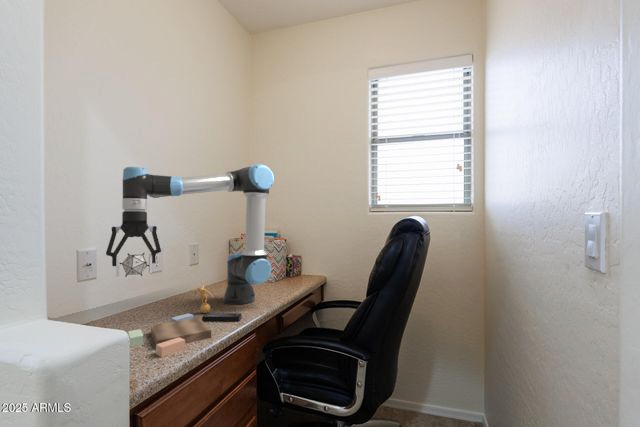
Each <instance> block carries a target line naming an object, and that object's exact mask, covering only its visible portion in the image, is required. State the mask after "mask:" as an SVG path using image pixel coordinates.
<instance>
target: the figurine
mask: <svg viewBox="0 0 640 427" xmlns="http://www.w3.org/2000/svg"><path fill="white" fill-rule="evenodd" d="M197 292H199V297H200V298H201V303H202V304H201V306H200V308H199V310H200V312H201V313H202V314H206V313H209V312H210V311H211V306H210V304H209V303H207V300H208V296H207V294H205V293H208V294H209V295H210V296H211V297H212V298H213V297H214V296H213V294H212V293H211V292H210V291H209V290H207V289H206V288H205V285H202V286H200V288H198V289H196V290H194V297H196V296H197ZM204 299H205V300H204ZM203 301H204V302H203Z"/></svg>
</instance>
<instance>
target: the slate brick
mask: <svg viewBox="0 0 640 427" xmlns="http://www.w3.org/2000/svg"><path fill="white" fill-rule="evenodd" d="M194 316H195V315H194V314H192V313H189V312H188V313H184V314H181V315H177V316H174V317H173V316H172V317H170V322H176V321H181V320H187V319H193V318H195V317H194Z"/></svg>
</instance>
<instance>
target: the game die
mask: <svg viewBox="0 0 640 427" xmlns="http://www.w3.org/2000/svg"><path fill="white" fill-rule="evenodd" d="M119 265H121V266H122V268H123V270H124V272H125V274H124V275H125V276H124V277H125V278H126V277H127V276H130V275H131V276H132V275H140V276H141V277H142V276H143V274H142V273H144V271H145V270H146V269H147V267H149V264H148V263H147V261H146V258H145V252H143V253H142V254H130V253H127V256H126V258H125V259H124V260H123V262H119Z"/></svg>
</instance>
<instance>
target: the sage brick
mask: <svg viewBox="0 0 640 427" xmlns="http://www.w3.org/2000/svg"><path fill="white" fill-rule="evenodd" d="M128 335H129V338H130V345H129V347H130V346H131V345H138V346H142V345H141V344H143V345H144V333H143V332H142V329H141V328H140V329H134V330H128V333H127V336H128Z"/></svg>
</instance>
